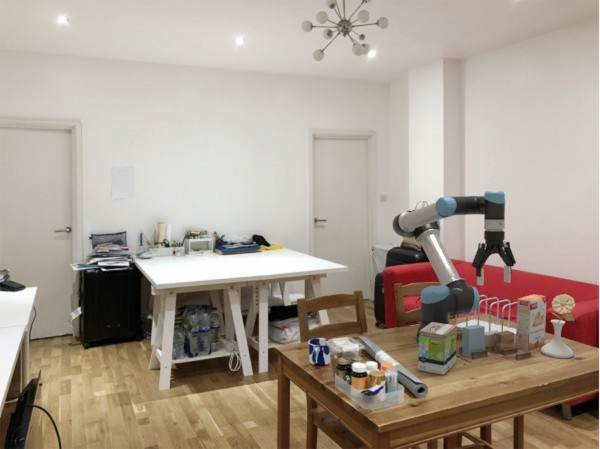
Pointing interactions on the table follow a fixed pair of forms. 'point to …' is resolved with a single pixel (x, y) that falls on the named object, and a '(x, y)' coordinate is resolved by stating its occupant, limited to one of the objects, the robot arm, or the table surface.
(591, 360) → the table surface
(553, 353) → the flower in vase
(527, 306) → the cracker box
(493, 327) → the file sorter
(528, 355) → the rack
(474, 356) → the stand
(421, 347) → the tea box
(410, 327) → the table surface
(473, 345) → the panel
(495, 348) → the offcut brown
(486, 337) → the offcut grey
